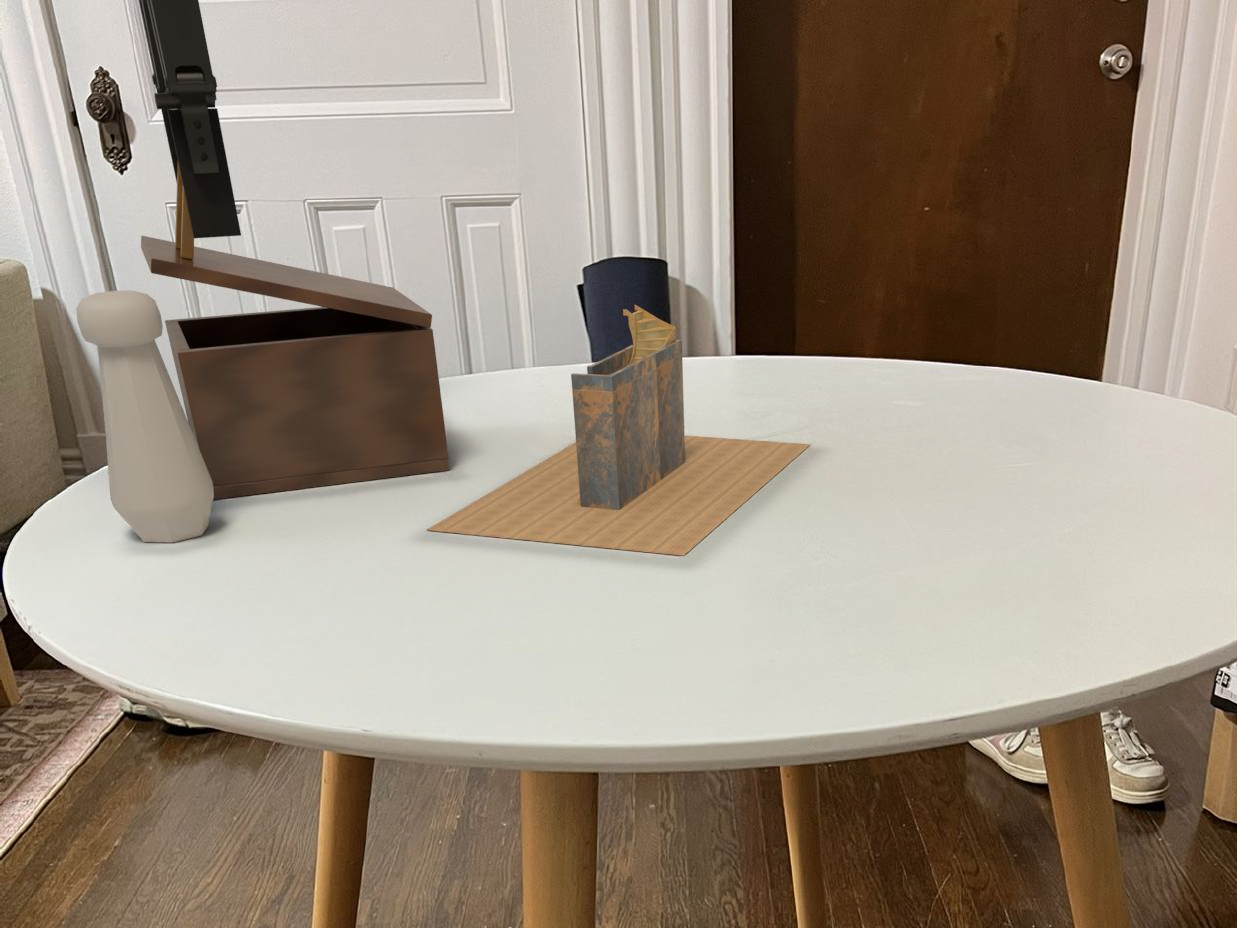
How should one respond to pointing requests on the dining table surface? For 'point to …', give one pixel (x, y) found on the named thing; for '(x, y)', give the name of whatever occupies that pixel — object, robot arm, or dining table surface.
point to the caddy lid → (272, 276)
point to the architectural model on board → (629, 463)
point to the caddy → (309, 398)
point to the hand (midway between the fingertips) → (212, 229)
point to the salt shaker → (145, 422)
